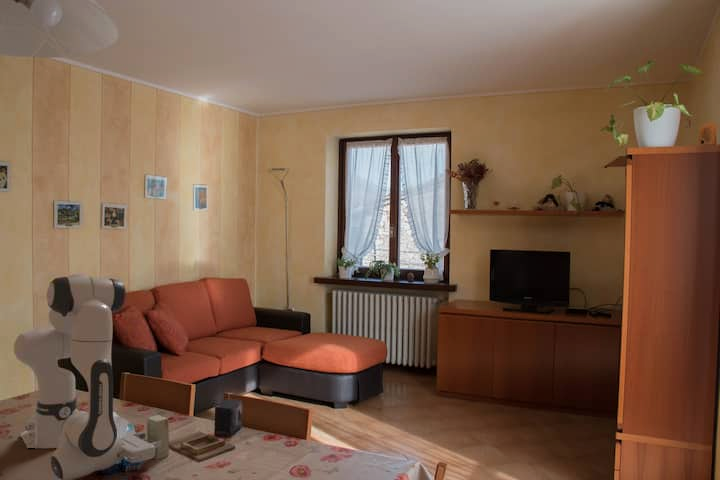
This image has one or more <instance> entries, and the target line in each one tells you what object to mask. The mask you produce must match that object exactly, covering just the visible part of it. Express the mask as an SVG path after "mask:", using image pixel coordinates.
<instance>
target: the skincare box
mask: <svg viewBox="0 0 720 480" xmlns="http://www.w3.org/2000/svg"><path fill="white" fill-rule="evenodd" d="M169 435H170V434H169V418H168V417H166V416H163V415H160V414H156V415H153V416H149V417H147V418H146V442H148V443H154V441H155V440H161V441H162V445H161V446H160V447H157V448H156V449H155V456H154V457H153V458H152V459H155V460H159V459H162V458H166V457H168V456H170V447H169V441H170V437H169Z"/></svg>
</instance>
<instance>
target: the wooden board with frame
mask: <svg viewBox="0 0 720 480" xmlns="http://www.w3.org/2000/svg"><path fill="white" fill-rule="evenodd" d="M169 449H171V450H174V451H176V452H178V453H180V454H183V455H185V456H187V457H189V458H191V459H193V460H194V461H195V460H196V461H197V462H203V461H205V460H207V459H210V458H213V457H215V456H218V455H221V454H224V453H227V452H229V451H231V450H235V449H236V445H233V444H231V443H229V442H226V439H224V438H221V437H219V436H214V434H211V433H204V432H203V431H197V432H193V433H190V434H187V435H184V436H181V437H178V438H175V439H172V440H169Z"/></svg>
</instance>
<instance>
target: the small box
mask: <svg viewBox="0 0 720 480" xmlns="http://www.w3.org/2000/svg"><path fill="white" fill-rule="evenodd" d="M242 418H243V400H242V399H238V398H237V399H236V398H235V399H234V398H226V399H224V400H223V401H222V402H220V403H218V404H217V405H215V406H214V428H213V429H214V432H213V433H214V434H213V435H214V436H216V437H224V438H231V437H232V436H233V435H235V434H236V433H237V432H238V431H239V430H241V429H242V427H243V424H242V423H243V419H242Z"/></svg>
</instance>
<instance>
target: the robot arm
mask: <svg viewBox="0 0 720 480" xmlns="http://www.w3.org/2000/svg"><path fill="white" fill-rule="evenodd" d="M126 294H127V293H126V287H125V285H124V283H123V282H122V281H120V280H118V279H113V278H103V277H96V276H95V277H94V276H88V275H86V274H84V273H73V274H70V275H68V276H60V277H55V278H54V279H53V280H52V281H51V282H50V283H49V285H48V287H47V289H46V301H47V305H48V307H49V308H50V309H49V313H48V321H49V324H50V325H51V326H52V327H46V328H38V329H37V328H36V329H33V330H32V329H31V330H29V331H24V332H22V333H20V334H19V335H18V336H17V337H16V339H15V341H14V343H13V344H14V345H13V351H14V355H15V357H16V358H17V359H18V360H19V361H20V363H23V364H24V365H26V366H28V367H29V368H30V369H31V370H32V372H33V373H34V375H35V377H36V380H37V386H38V387H37V388H38V399H37V402H36V409H35V412H34V414H33V415H32V416H31V417H30V418H28V420H27V423H25V424H24V431H23V432H21V433H20V434H19V435H20V436H21V437H20V438H22V439H23V440H22V439H21V440H22V442H23V441H24V442H23V444H24V443H25V444H26V445H25V444H24V445H25V447H26V446H27V447H26V448H27V449H28V448H35V449H55V448H56V449H55V451H54V453H53V454H52V455H51V457H50V467H51V470H52V471H53V474H54V475H55V476H56V477H57V478H58V479H60V480H75V479H78V478H82V477H85V476H88V475H90V474H92V473H94V472H97V471H104V470H106V468H107V469H110V468H112V467H111V466H112V465H114V464H116V463H117V462H119V461H121V460H122V461H123V460H124V461H126V462H128V463H133V464H134V463H135V464H136V463H139V462H143V461H147V460H150V459H154V458H153V457H154V456H155V449H156V448H157V447H160V446H161V445H162V441H161V440H155V441H154V443H148V442H147V440H143V439H147V433H146V432H144V431H141V432H137V433H136V432H134V433H132V434H131V433H129V432H128V433H127V434H126V435H125V436H124V437H122V438H118V437H117V431H118V428H117V425H116V423H115V419H114V375H113V374H114V373H113V366H112V365H113V364H112V344H113V332H114V331H113V324H114V323H113V313H115V312H118V311H121V309H122V308H123V307H124V305H125V302H126V296H127V295H126ZM69 358H70V361H71V364H72V365H73V366H74V367H75V369H76V370H77V371H78V372H79V374H80V375H81V376H82V377H83V378H84V381H86V384H87V389H88V411H84V410H78V409H77V408H78V400H77V399H78V397H77V396H76V377H75V374H74V373H73V372H72V371H71V370H69V369H66V368H63V367H59V364H58V363H59V362H58V360H63V359H69ZM122 461H121V462H122ZM109 467H110V468H109Z"/></svg>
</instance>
